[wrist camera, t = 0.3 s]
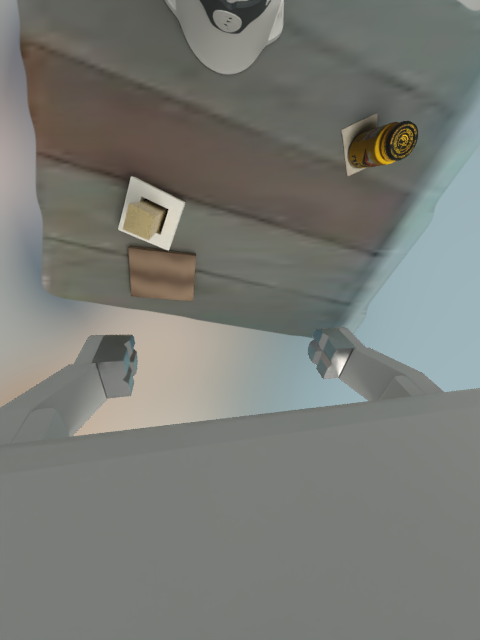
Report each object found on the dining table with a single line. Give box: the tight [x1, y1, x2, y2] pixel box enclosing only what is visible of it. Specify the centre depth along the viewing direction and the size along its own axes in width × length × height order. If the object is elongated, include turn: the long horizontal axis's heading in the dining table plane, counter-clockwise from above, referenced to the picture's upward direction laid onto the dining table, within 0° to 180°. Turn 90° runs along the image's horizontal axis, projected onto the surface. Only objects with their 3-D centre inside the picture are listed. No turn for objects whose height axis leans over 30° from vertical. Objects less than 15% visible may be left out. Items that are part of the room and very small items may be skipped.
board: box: [128, 246, 196, 301], centre depth 54 cm, size 11×14×2 cm
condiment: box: [342, 113, 418, 176], centre depth 43 cm, size 7×8×12 cm
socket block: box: [118, 176, 186, 251], centre depth 47 cm, size 10×10×4 cm
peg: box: [123, 201, 167, 240], centre depth 42 cm, size 4×4×14 cm
